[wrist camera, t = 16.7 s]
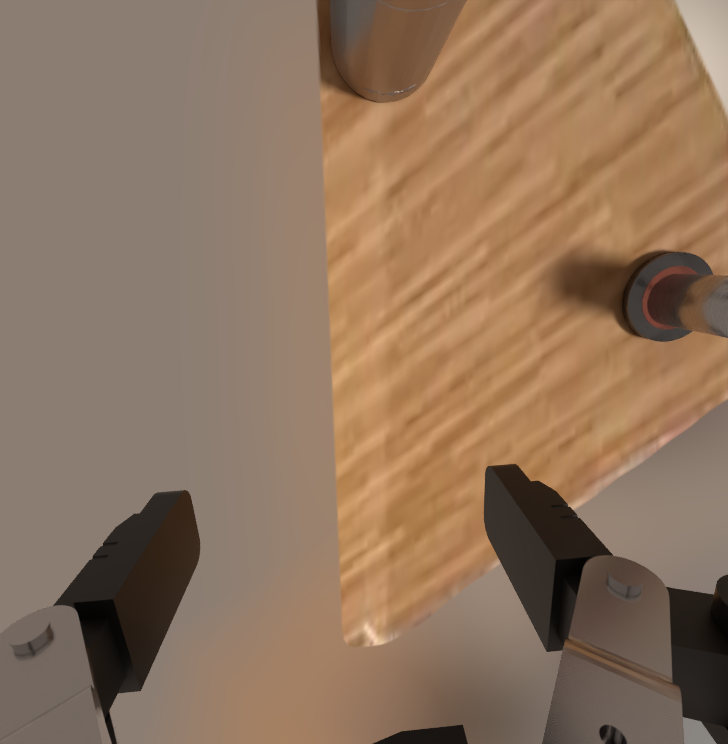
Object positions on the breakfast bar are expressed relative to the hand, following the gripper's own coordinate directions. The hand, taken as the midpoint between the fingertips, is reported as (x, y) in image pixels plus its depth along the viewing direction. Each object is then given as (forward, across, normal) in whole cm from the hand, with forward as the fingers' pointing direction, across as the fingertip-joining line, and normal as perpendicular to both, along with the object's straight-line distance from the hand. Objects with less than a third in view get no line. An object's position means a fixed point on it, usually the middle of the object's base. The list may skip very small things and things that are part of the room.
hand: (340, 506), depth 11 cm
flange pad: (+32, -34, 0) cm, 47 cm away
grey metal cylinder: (+31, -34, 0) cm, 46 cm away
